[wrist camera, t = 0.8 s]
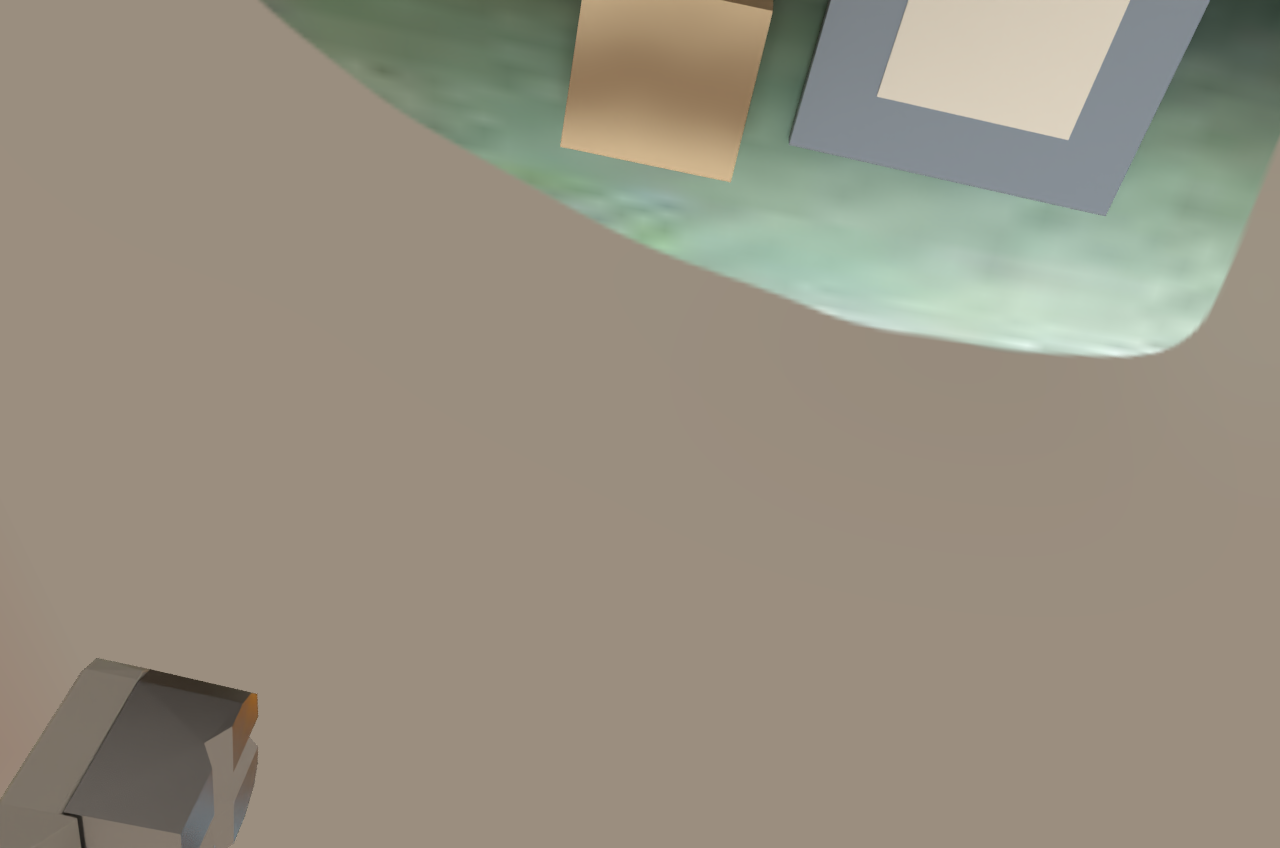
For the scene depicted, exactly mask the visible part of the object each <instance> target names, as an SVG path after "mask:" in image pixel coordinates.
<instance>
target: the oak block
mask: <svg viewBox="0 0 1280 848" xmlns="http://www.w3.org/2000/svg"><path fill="white" fill-rule="evenodd" d="M772 13H773V0H582V2H581V9H580V16H579V23H578V30H577V36H576V43H575V50H574V57H573V63H572V70H571V77H570V84H569V91H568V97H567V104H566V111H565V118H564V125H563V131H562V138H561V145H560V147H564V148H569V149H574V150H579V151H584V152H588V153H593V154H598V155H603V156H608V157H612V158H617V159H622V160H627V161H631V162H636V163H641V164H646V165H651V166H655V167H660V168H665V169H670V170H675V171H679V172H684V173H689V174H694V175H699V176H703V177H708V178H713V179H718V180H722V181H727V182H731V179H732V175H733V171H734V167H735V163H736V159H737V155H738V151H739V147H740V143H741V138H742V134H743V130H744V126H745V122H746V118H747V114H748V110H749V106H750V102H751V98H752V94H753V90H754V86H755V82H756V78H757V73H758V69H759V65H760V61H761V57H762V53H763V49H764V45H765V41H766V37H767V33H768V29H769V25H770V21H771V17H772Z"/></svg>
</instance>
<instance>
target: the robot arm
mask: <svg viewBox="0 0 1280 848" xmlns="http://www.w3.org/2000/svg"><path fill="white" fill-rule="evenodd" d="M257 718H258V699H257V694H256V693H251V692H247V691H243V690H238V689H234V688H229V687H225V686H221V685H216V684H211V683H208V682H203V681H198V680H194V679H190V678H185V677H181V676H177V675H173V674H168V673H164V672H160V671H155V670H151V669H147V668H142V667H137V666H132V665H128V664H123V663H118V662H114V661H108V660H104V659H99V658H96V659H95V660H94V661H93V662H92V663H91V664H89V666H87V667H86V668H85V669H84V670H83V671H82V672H81V673H80V675H79V676H78V678H77V679H76V681H75V682H74V684H73V686H72V687H71V689H70V690H69V692H68V694H67V695H66V697H65V698H64V700H63V701H62V703H61V704H60V706H59V708H58V709H57V711H56V712H55V714H54V715H53V717H52V719H51V720H50V722H49V723H48V725H47V726H46V728H45V730H44V731H43V733H42V735H41V736H40V738H39V739H38V741H37V742H36V744H35V745H34V747H33V748H32V750H31V752H30V753H29V755H28V756H27V758H26V760H25V761H24V763H23V764H22V766H21V767H20V769H19V771H18V772H17V774H16V776H15V777H14V778H13V780H12V782H11V783H10V785H9V786H8V788H7V789H6V791H5V793H4V794H3V796H2V797H1V799H0V848H228V847H229V846H231V845H232V844H234V841H235V839H236V837H237V834H238V832H239V829H240V827H241V824H242V822H243V820H244V817H245V814H246V811H247V808H248V804H249V801H250V797H251V794H252V791H253V787H254V783H255V776H256V770H257V764H258V746H257V745H256V744H255V743H254V742H253V741H252V739H251V738H250V737H249V736H250V734H251V732H252V729H253V727H254V725H255V723H256V720H257Z"/></svg>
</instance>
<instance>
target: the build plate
mask: <svg viewBox="0 0 1280 848" xmlns="http://www.w3.org/2000/svg"><path fill="white" fill-rule="evenodd" d="M1209 1H1210V0H829V1H828V5H827V8H826V12H825V15H824V19H823V22H822V26H821V29H820V33H819V36H818V40H817V43H816V46H815V50H814V53H813V57H812V60H811V64H810V67H809V71H808V74H807V78H806V81H805V85H804V88H803V91H802V95H801V98H800V102H799V105H798V109H797V112H796V116H795V119H794V123H793V126H792V130H791V133H790V136H789V145H792V146H796V147H801V148H805V149H810V150H814V151H819V152H823V153H828V154H832V155H836V156H841V157H845V158H850V159H854V160H859V161H863V162H867V163H872V164H876V165H881V166H885V167H890V168H894V169H898V170H903V171H907V172H912V173H916V174H921V175H925V176H930V177H934V178H938V179H943V180H947V181H952V182H956V183H961V184H965V185H969V186H974V187H978V188H983V189H987V190H992V191H996V192H1000V193H1005V194H1009V195H1014V196H1018V197H1023V198H1027V199H1032V200H1036V201H1040V202H1045V203H1049V204H1054V205H1058V206H1063V207H1067V208H1071V209H1076V210H1080V211H1085V212H1089V213H1094V214H1098V215H1102V216H1106V214H1107V212H1108V210H1109V208H1110V206H1111V204H1112V202H1113V200H1114V198H1115V196H1116V193H1117V191H1118V189H1119V187H1120V185H1121V183H1122V181H1123V179H1124V177H1125V175H1126V173H1127V171H1128V169H1129V167H1130V165H1131V162H1132V160H1133V158H1134V156H1135V154H1136V152H1137V150H1138V148H1139V146H1140V144H1141V142H1142V140H1143V138H1144V136H1145V134H1146V131H1147V129H1148V127H1149V125H1150V123H1151V121H1152V119H1153V117H1154V115H1155V113H1156V111H1157V109H1158V107H1159V105H1160V103H1161V100H1162V98H1163V96H1164V94H1165V92H1166V90H1167V88H1168V86H1169V84H1170V82H1171V80H1172V78H1173V76H1174V74H1175V71H1176V69H1177V67H1178V65H1179V63H1180V61H1181V59H1182V57H1183V55H1184V53H1185V51H1186V49H1187V47H1188V45H1189V43H1190V40H1191V38H1192V36H1193V34H1194V32H1195V30H1196V28H1197V26H1198V24H1199V22H1200V20H1201V18H1202V16H1203V14H1204V12H1205V9H1206V7H1207V5H1208V3H1209Z"/></svg>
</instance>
